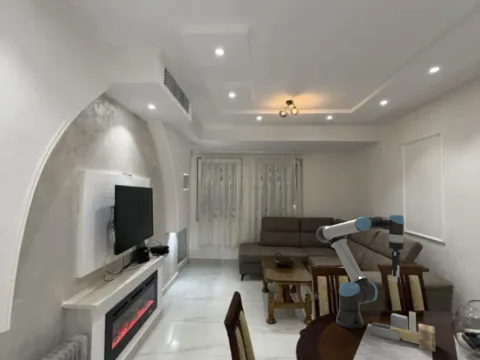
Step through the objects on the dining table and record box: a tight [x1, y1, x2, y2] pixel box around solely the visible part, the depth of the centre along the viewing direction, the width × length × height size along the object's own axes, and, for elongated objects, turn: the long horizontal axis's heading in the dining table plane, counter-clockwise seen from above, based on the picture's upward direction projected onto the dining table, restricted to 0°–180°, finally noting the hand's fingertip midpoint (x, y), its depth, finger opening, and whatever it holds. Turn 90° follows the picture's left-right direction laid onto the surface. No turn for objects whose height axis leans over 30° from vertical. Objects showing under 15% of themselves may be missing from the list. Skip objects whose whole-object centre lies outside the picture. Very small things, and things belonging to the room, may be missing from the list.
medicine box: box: [390, 313, 409, 330], centre depth 168 cm, size 8×4×9 cm, turn 47°
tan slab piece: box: [390, 311, 419, 344], centre depth 156 cm, size 18×4×14 cm, turn 59°
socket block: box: [418, 323, 436, 353], centre depth 151 cm, size 7×9×9 cm
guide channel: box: [369, 321, 401, 343], centre depth 161 cm, size 14×7×5 cm, turn 59°
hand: (395, 279), depth 167 cm, fingers open, 13 cm apart
